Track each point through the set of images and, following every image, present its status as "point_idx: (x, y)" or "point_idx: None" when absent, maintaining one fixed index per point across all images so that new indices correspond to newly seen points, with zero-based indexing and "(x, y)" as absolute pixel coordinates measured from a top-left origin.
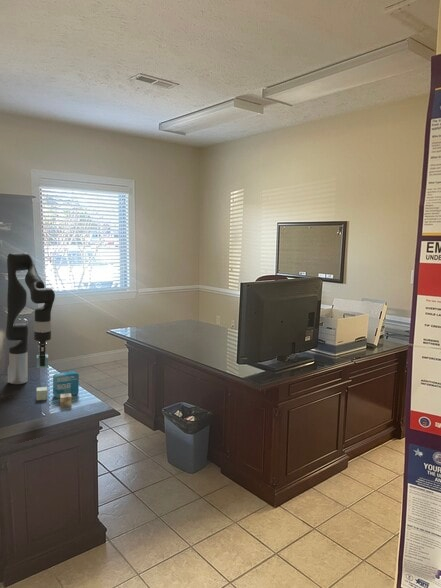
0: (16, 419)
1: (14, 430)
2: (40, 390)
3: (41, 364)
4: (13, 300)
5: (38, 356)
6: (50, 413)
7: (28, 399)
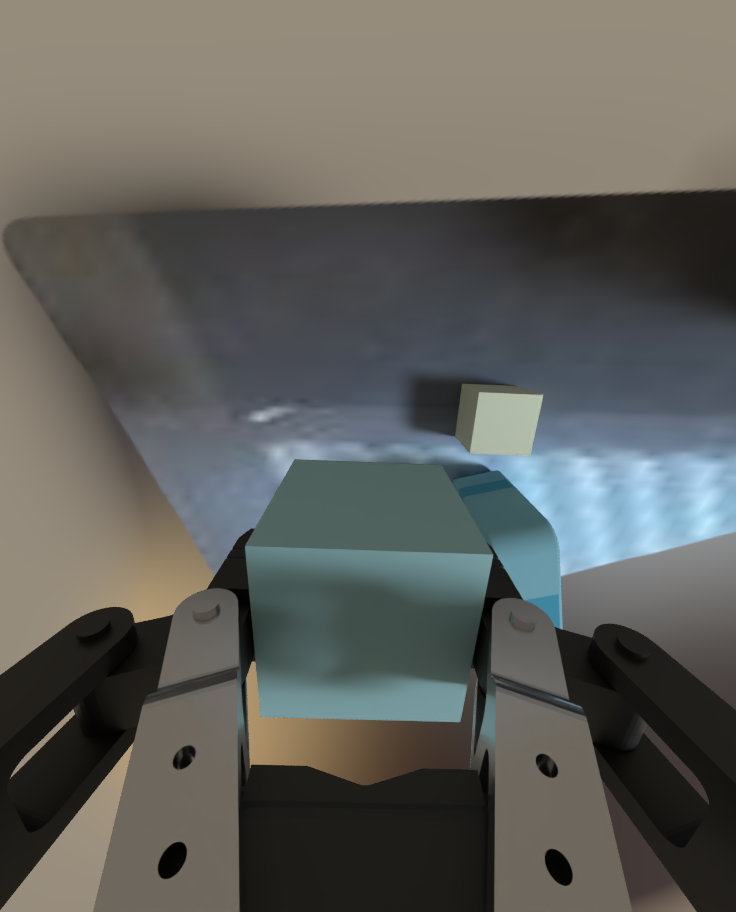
0: (215, 274)
1: (73, 265)
2: (480, 416)
3: (239, 546)
4: None
5: (358, 578)
6: (265, 443)
7: (492, 341)
